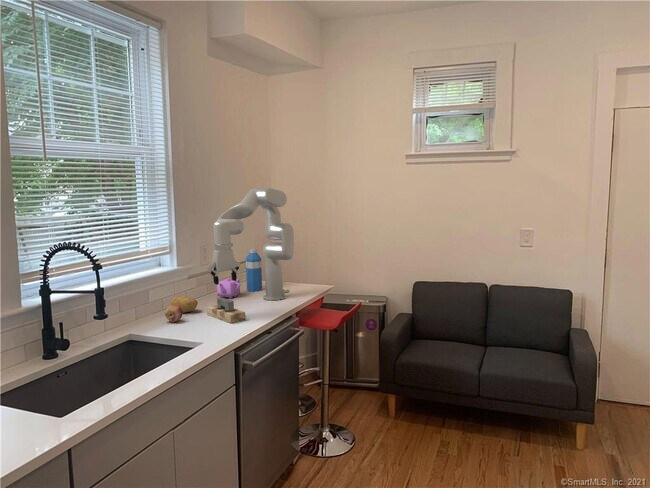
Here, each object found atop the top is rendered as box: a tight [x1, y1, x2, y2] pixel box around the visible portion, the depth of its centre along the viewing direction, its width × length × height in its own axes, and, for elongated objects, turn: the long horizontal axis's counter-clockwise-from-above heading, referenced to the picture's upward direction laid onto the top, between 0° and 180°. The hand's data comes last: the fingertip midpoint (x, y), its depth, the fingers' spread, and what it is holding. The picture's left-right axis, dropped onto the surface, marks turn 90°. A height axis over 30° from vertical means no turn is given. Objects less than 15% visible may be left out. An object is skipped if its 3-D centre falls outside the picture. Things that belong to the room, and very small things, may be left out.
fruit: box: [164, 304, 183, 323], centre depth 232 cm, size 8×8×8 cm
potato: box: [171, 295, 198, 314], centre depth 250 cm, size 10×14×8 cm
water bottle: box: [245, 248, 263, 293], centre depth 299 cm, size 9×9×25 cm
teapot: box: [216, 277, 241, 300], centre depth 282 cm, size 15×13×11 cm
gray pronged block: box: [216, 297, 235, 312], centre depth 238 cm, size 10×3×8 cm, turn 42°
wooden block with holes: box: [206, 304, 246, 324], centre depth 238 cm, size 8×22×4 cm, turn 42°
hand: (225, 282), depth 237 cm, fingers open, 9 cm apart
